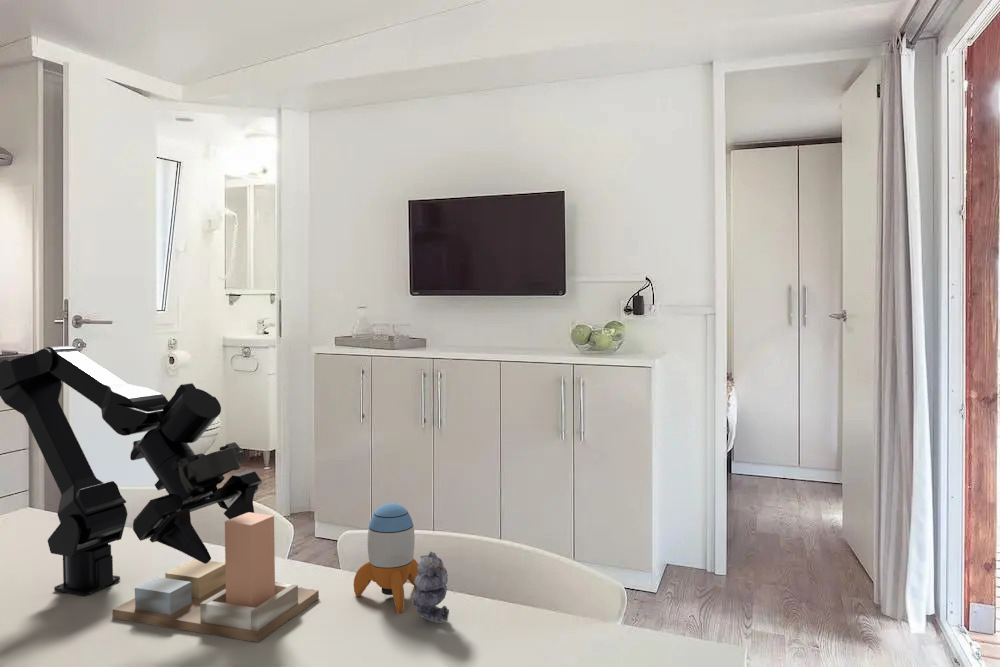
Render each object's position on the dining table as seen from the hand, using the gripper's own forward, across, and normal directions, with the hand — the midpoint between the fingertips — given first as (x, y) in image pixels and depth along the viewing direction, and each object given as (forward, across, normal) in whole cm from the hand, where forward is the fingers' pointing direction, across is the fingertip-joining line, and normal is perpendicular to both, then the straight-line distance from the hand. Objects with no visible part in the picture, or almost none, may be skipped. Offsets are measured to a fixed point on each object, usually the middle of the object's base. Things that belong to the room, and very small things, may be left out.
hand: (234, 550), depth 94 cm
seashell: (+25, +8, -12) cm, 29 cm away
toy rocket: (+18, +14, -5) cm, 23 cm away
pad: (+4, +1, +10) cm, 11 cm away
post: (+8, 0, +4) cm, 9 cm away
